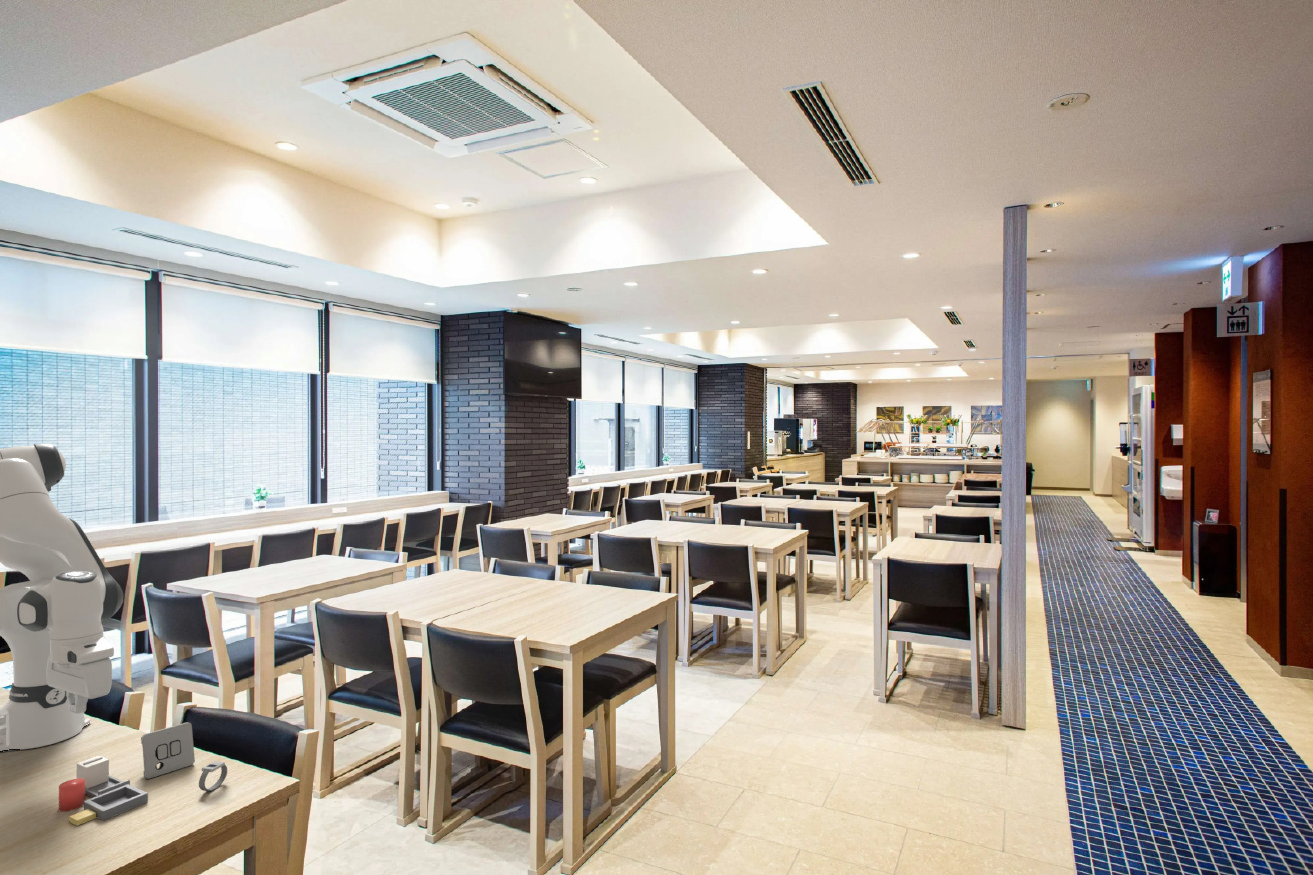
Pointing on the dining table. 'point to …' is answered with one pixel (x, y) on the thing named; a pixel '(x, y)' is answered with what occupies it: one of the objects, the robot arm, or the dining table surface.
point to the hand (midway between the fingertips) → (77, 711)
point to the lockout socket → (110, 804)
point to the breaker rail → (105, 787)
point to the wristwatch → (211, 768)
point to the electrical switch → (167, 750)
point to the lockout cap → (71, 794)
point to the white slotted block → (93, 771)
